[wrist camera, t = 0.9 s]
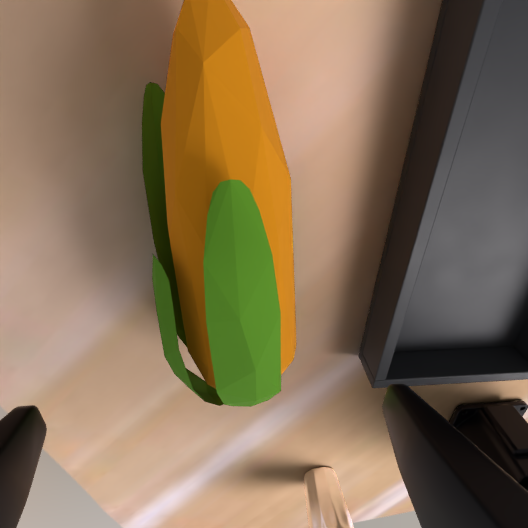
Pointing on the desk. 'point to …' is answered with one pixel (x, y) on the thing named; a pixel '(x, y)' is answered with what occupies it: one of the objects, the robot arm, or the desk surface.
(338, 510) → the milkshake
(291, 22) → the desk surface
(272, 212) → the corn
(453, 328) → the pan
